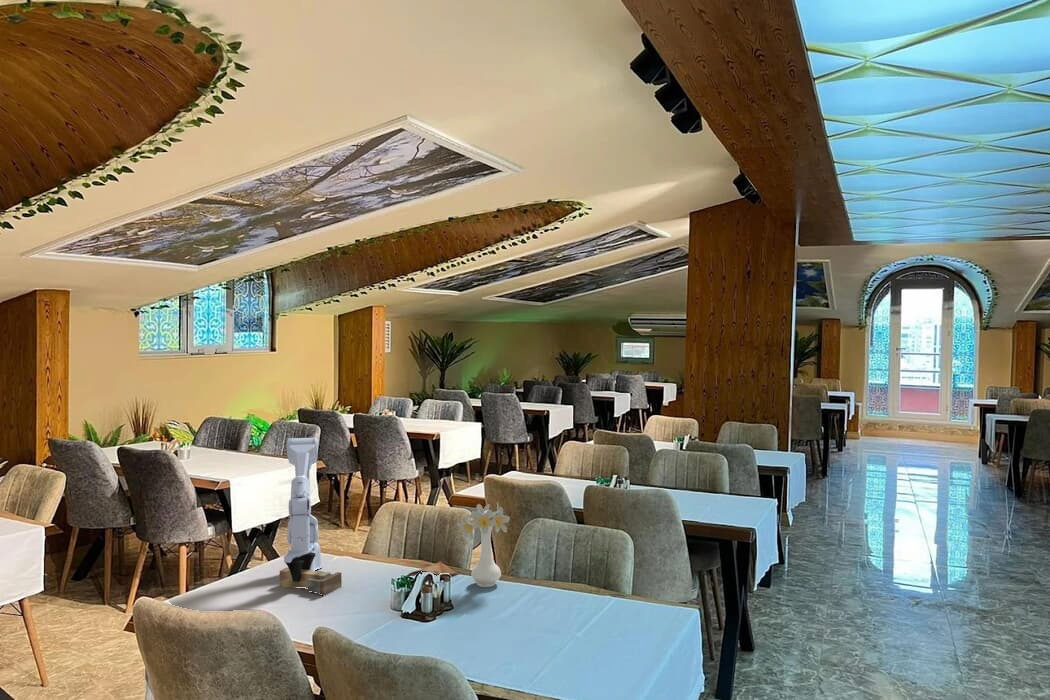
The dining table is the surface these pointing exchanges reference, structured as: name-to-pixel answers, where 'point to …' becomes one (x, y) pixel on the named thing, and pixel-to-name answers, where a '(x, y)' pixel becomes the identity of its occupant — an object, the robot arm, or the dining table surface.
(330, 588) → the wooden channel piece
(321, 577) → the bed rail
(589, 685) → the dining table surface
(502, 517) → the flower vase
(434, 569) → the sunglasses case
